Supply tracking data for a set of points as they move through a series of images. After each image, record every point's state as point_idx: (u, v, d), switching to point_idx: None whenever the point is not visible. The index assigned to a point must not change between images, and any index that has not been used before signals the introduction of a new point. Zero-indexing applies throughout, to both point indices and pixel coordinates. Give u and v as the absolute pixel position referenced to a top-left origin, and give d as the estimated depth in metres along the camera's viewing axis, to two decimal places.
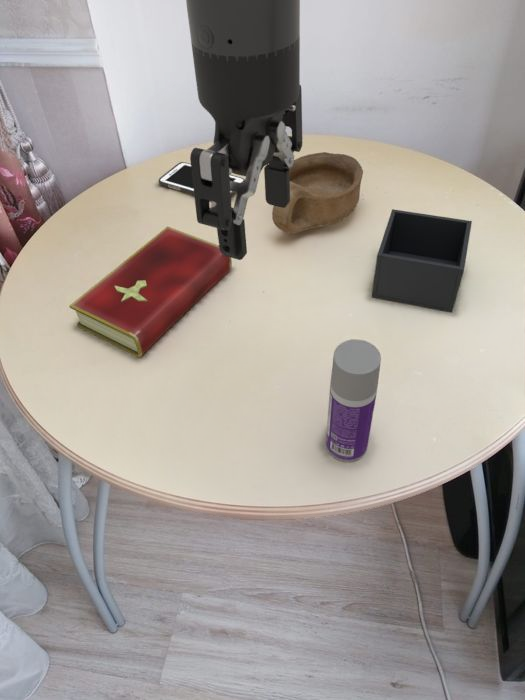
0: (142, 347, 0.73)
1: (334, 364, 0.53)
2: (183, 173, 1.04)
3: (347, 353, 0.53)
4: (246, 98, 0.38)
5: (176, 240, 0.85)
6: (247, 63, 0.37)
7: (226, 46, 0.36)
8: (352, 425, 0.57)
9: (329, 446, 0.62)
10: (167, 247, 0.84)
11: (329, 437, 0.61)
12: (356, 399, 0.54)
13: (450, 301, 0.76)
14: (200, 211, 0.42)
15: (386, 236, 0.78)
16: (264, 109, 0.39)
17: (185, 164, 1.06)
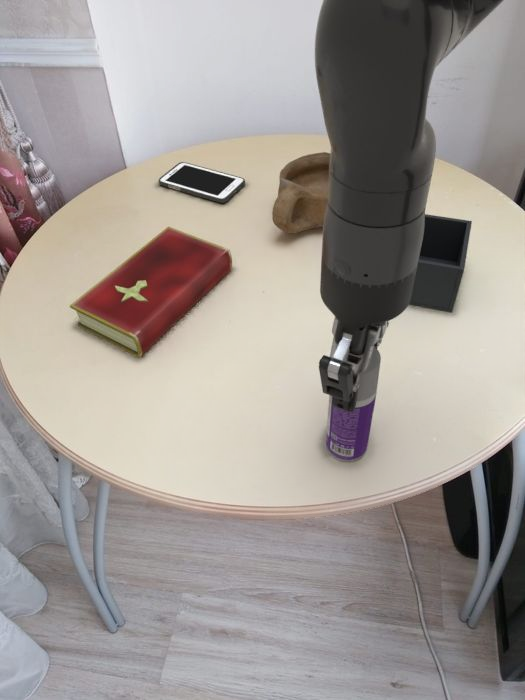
0: (142, 347, 0.73)
1: None
2: (183, 173, 1.04)
3: None
4: (372, 311, 0.44)
5: (177, 240, 0.85)
6: (378, 289, 0.42)
7: (361, 278, 0.41)
8: (352, 425, 0.57)
9: (329, 446, 0.62)
10: (168, 247, 0.84)
11: (329, 437, 0.61)
12: None
13: (450, 301, 0.76)
14: (326, 389, 0.49)
15: None
16: (385, 317, 0.44)
17: (185, 164, 1.06)
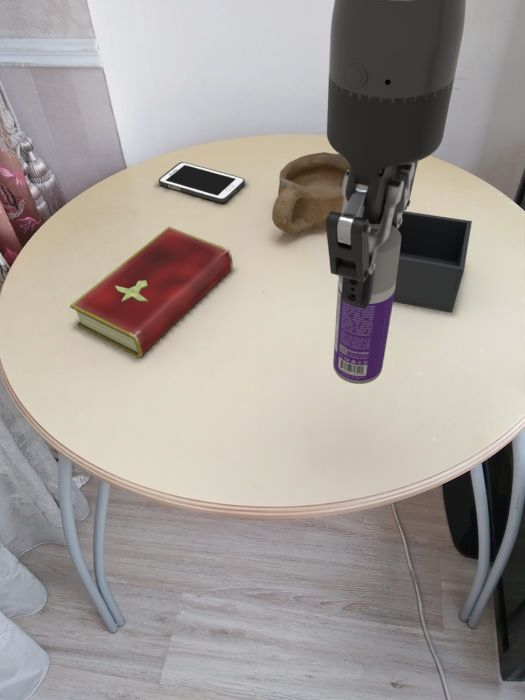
0: (142, 347, 0.73)
1: None
2: (183, 173, 1.04)
3: None
4: (395, 143, 0.34)
5: (177, 240, 0.85)
6: (403, 105, 0.32)
7: (382, 87, 0.31)
8: (365, 330, 0.47)
9: (337, 365, 0.52)
10: (168, 247, 0.84)
11: (337, 353, 0.51)
12: None
13: (450, 301, 0.76)
14: (335, 266, 0.39)
15: None
16: (412, 155, 0.34)
17: (185, 164, 1.06)
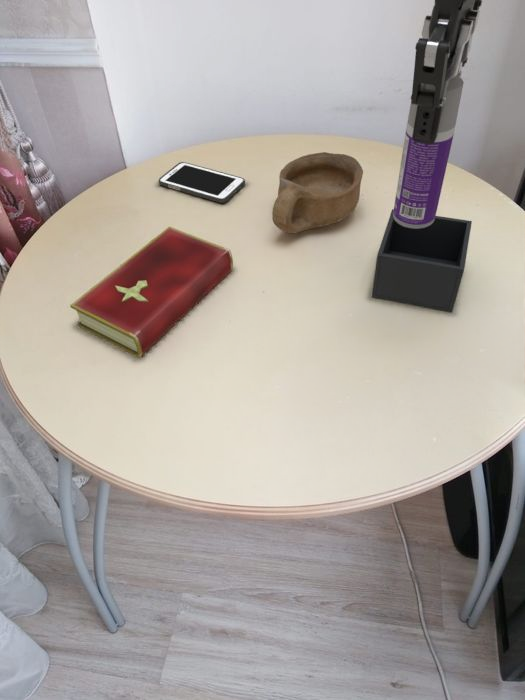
0: (142, 347, 0.73)
1: None
2: (183, 173, 1.04)
3: None
4: None
5: (178, 241, 0.85)
6: None
7: None
8: (428, 170, 0.57)
9: (398, 213, 0.62)
10: (169, 247, 0.84)
11: (399, 199, 0.61)
12: None
13: (450, 301, 0.76)
14: (416, 94, 0.49)
15: (386, 236, 0.78)
16: None
17: (185, 164, 1.06)
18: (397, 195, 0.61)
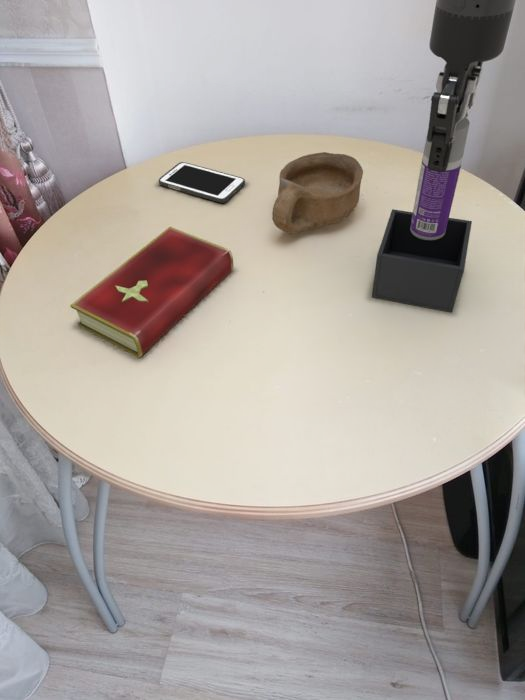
0: (142, 347, 0.73)
1: None
2: (183, 173, 1.04)
3: None
4: (477, 46, 0.56)
5: (178, 241, 0.85)
6: (485, 21, 0.54)
7: (474, 9, 0.53)
8: (440, 192, 0.69)
9: (415, 227, 0.74)
10: (169, 247, 0.84)
11: (416, 216, 0.73)
12: None
13: (450, 301, 0.76)
14: (431, 134, 0.61)
15: (386, 236, 0.78)
16: (487, 55, 0.56)
17: (185, 164, 1.06)
18: (414, 212, 0.74)
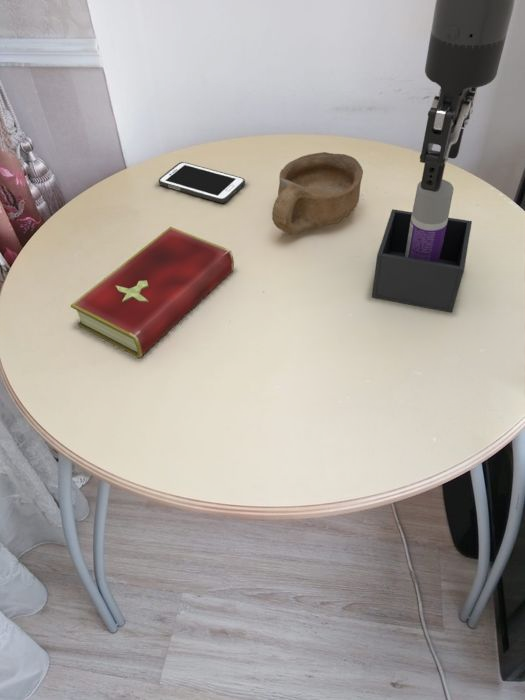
0: (142, 348, 0.73)
1: (418, 194, 0.71)
2: (183, 173, 1.04)
3: None
4: (471, 73, 0.58)
5: (178, 241, 0.85)
6: (478, 50, 0.56)
7: (467, 38, 0.55)
8: (427, 249, 0.75)
9: None
10: (170, 247, 0.84)
11: None
12: (434, 222, 0.72)
13: (450, 301, 0.76)
14: (425, 152, 0.62)
15: (386, 236, 0.78)
16: (480, 81, 0.58)
17: (185, 164, 1.06)
18: None
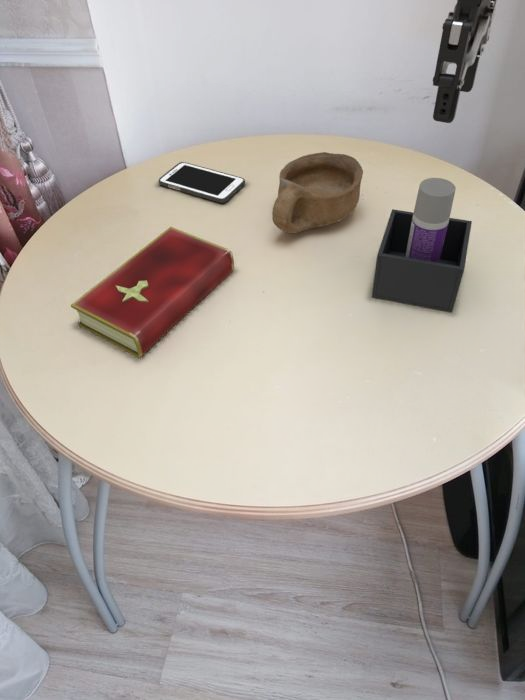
0: (142, 348, 0.73)
1: (420, 193, 0.71)
2: (183, 173, 1.04)
3: (429, 185, 0.71)
4: None
5: (179, 241, 0.85)
6: None
7: None
8: (428, 248, 0.75)
9: None
10: (170, 247, 0.84)
11: None
12: (435, 222, 0.72)
13: (450, 301, 0.76)
14: (438, 73, 0.55)
15: (386, 236, 0.78)
16: None
17: (185, 164, 1.06)
18: None
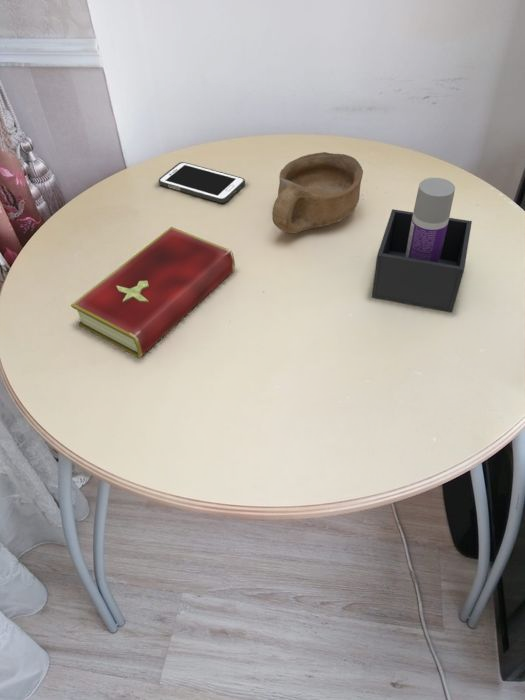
0: (142, 348, 0.73)
1: (419, 192, 0.71)
2: (183, 173, 1.04)
3: (429, 184, 0.71)
4: None
5: (179, 241, 0.85)
6: None
7: None
8: (428, 248, 0.75)
9: None
10: (170, 247, 0.84)
11: None
12: (435, 221, 0.72)
13: (450, 301, 0.76)
14: None
15: (386, 236, 0.78)
16: None
17: (185, 164, 1.06)
18: None
